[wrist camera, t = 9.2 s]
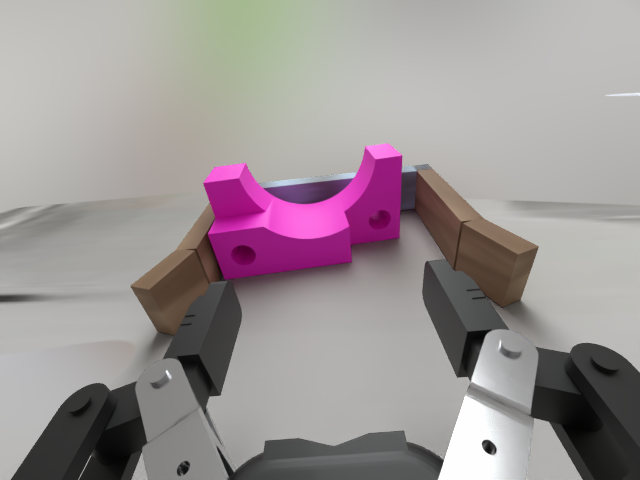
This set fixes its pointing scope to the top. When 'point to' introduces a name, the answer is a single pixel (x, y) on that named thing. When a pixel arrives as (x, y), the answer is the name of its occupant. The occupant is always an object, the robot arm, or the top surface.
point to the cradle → (416, 193)
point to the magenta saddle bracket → (301, 218)
